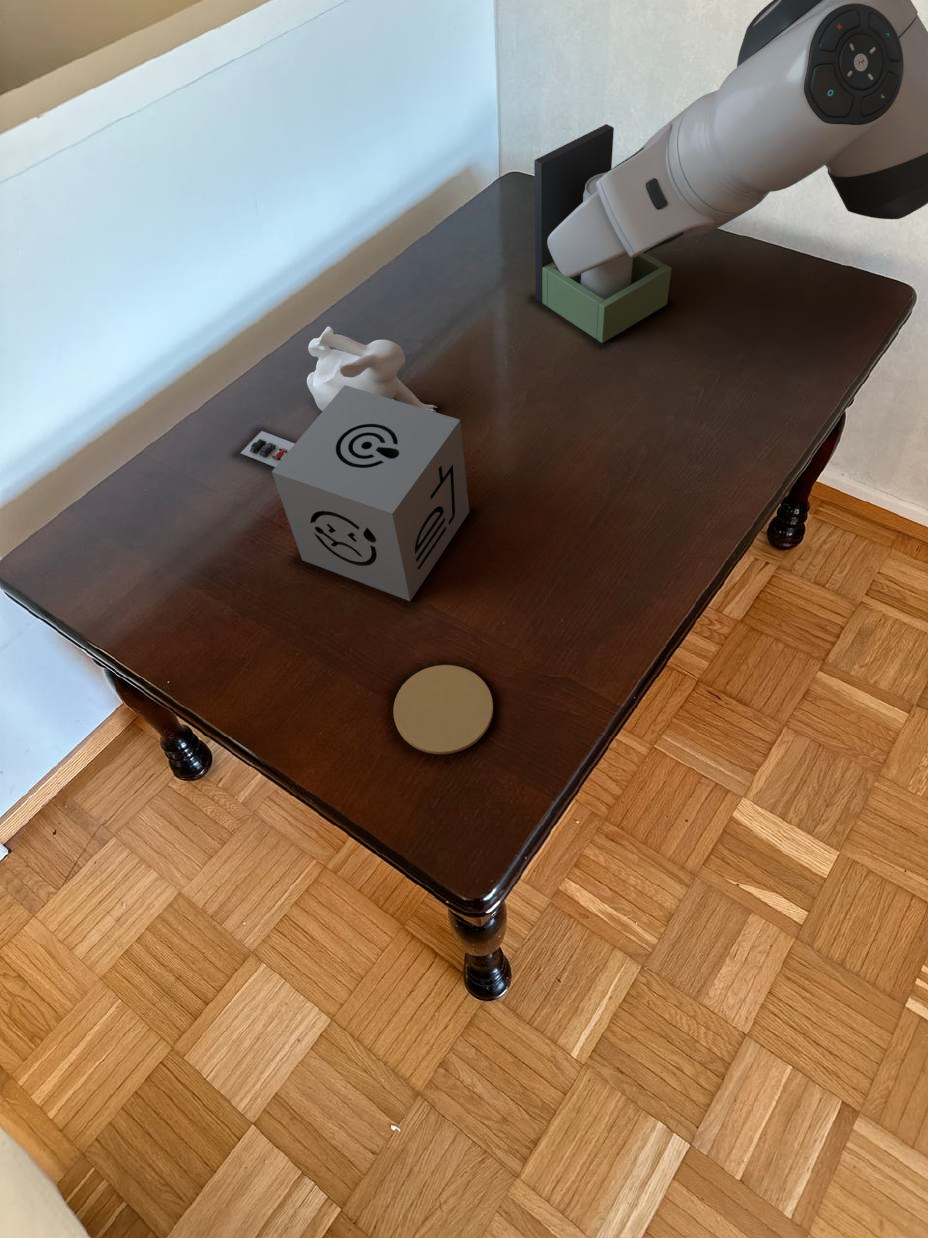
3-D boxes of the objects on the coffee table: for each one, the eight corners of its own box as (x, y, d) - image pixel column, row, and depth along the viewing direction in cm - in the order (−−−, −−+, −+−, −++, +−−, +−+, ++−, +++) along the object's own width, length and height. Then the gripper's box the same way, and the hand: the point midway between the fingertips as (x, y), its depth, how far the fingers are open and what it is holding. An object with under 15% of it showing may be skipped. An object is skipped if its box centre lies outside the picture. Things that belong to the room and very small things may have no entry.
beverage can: (635, 294, 89) (646, 175, 80) (619, 323, 87) (628, 204, 77) (589, 284, 91) (594, 167, 81) (572, 313, 88) (575, 195, 79)
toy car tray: (261, 430, 82) (259, 424, 81) (333, 458, 79) (332, 452, 78) (240, 453, 80) (237, 446, 80) (312, 482, 77) (311, 475, 77)
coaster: (495, 668, 65) (495, 665, 65) (490, 756, 61) (490, 753, 61) (400, 666, 66) (399, 663, 66) (388, 753, 62) (387, 750, 62)
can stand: (667, 304, 88) (685, 162, 77) (602, 343, 85) (610, 202, 74) (598, 263, 93) (606, 123, 82) (535, 298, 90) (534, 159, 79)
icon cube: (469, 511, 74) (460, 419, 66) (410, 601, 69) (392, 513, 61) (365, 476, 78) (344, 384, 69) (302, 560, 73) (271, 471, 65)
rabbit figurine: (439, 409, 82) (428, 318, 74) (397, 464, 78) (381, 374, 70) (329, 374, 86) (307, 285, 78) (284, 425, 82) (256, 336, 74)
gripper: (775, 83, 73) (673, 158, 86) (587, 182, 67) (507, 247, 80) (806, 158, 75) (701, 220, 87) (625, 261, 68) (541, 313, 81)
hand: (607, 234), depth 84 cm, fingers open, 8 cm apart
